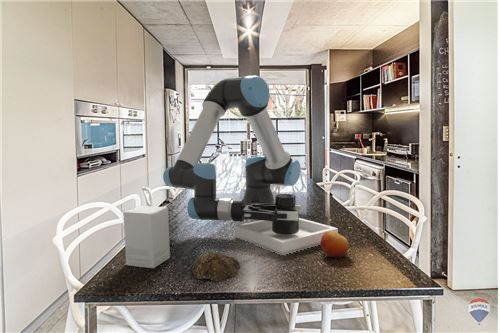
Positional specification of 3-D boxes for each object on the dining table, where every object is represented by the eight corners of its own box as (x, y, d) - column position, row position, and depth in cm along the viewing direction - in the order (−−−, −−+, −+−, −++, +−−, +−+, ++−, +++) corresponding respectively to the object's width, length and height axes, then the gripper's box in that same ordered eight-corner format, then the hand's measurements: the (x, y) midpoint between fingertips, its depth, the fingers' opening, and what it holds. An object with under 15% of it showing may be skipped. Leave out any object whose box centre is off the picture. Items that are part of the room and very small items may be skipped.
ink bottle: (298, 227, 131) (298, 193, 129) (302, 235, 122) (302, 198, 121) (269, 228, 130) (269, 193, 129) (271, 235, 122) (271, 198, 120)
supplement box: (171, 257, 110) (169, 206, 108) (153, 269, 101) (151, 213, 100) (144, 254, 113) (142, 204, 111) (124, 265, 104) (122, 211, 102)
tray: (287, 225, 143) (287, 214, 143) (337, 240, 124) (337, 228, 124) (235, 237, 129) (234, 225, 129) (282, 256, 110) (282, 242, 109)
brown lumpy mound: (197, 263, 106) (197, 245, 105) (241, 264, 105) (241, 246, 104) (185, 282, 93) (184, 262, 93) (235, 283, 92) (235, 263, 92)
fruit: (310, 247, 113) (324, 224, 113) (333, 259, 114) (346, 236, 114) (318, 256, 105) (332, 231, 105) (341, 269, 106) (356, 245, 106)
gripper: (240, 213, 140) (302, 216, 135) (223, 229, 120) (295, 233, 114) (240, 193, 140) (302, 195, 134) (223, 205, 119) (295, 208, 114)
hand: (299, 212), depth 124 cm, fingers closed on ink bottle, 9 cm apart
